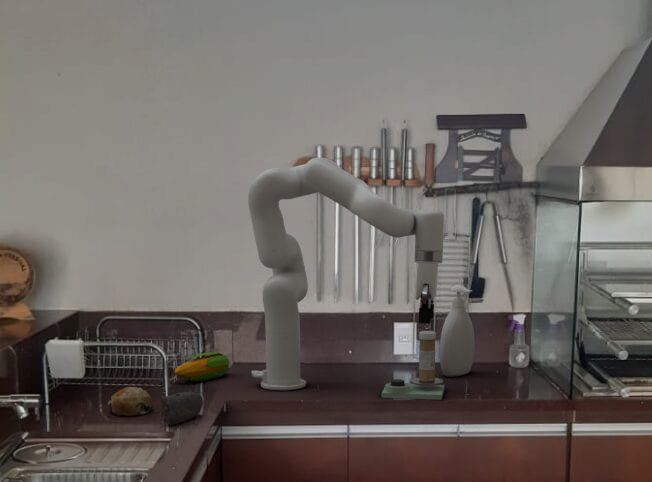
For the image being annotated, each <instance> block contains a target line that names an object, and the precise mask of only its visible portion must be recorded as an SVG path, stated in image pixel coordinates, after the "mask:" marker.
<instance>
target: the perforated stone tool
mask: <svg viewBox="0 0 652 482" xmlns="http://www.w3.org/2000/svg"><path fill="white" fill-rule="evenodd" d="M160 403H161V407H160V412H159V413H160V414H161V416H162V422H164V424H167V425H171V426H172V425H177V424H182V423H184V422H186V421H189V420H191V419H193V418H195V417H197V415H198V414H199V413H200V412H201V411H202V408H203V404H204V401H203V397H202V396H201V394H199V393H198V392H194V391H183V392H178V393H174V394H171V395H167V396H163V397H161V398H160Z"/></svg>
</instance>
